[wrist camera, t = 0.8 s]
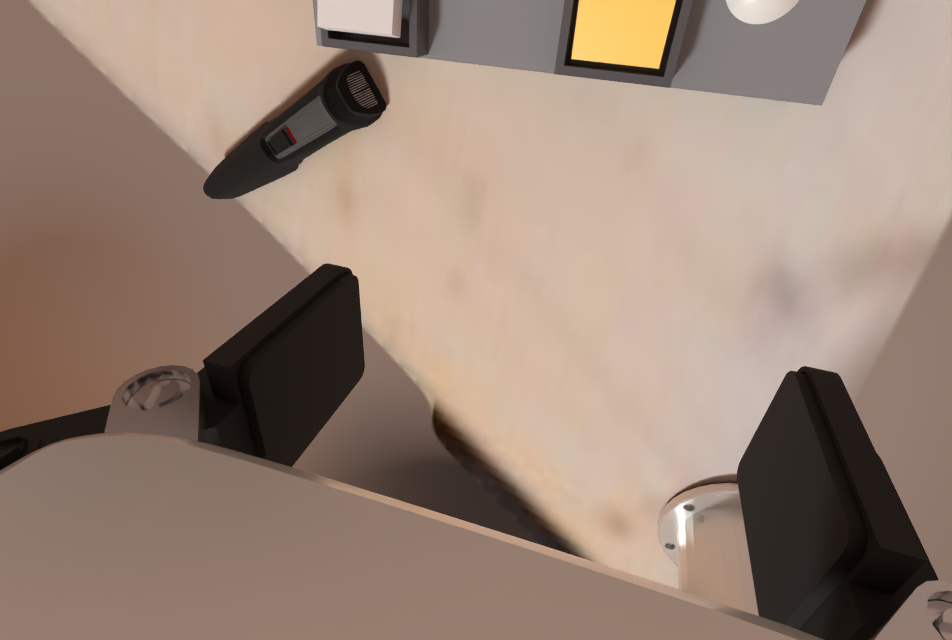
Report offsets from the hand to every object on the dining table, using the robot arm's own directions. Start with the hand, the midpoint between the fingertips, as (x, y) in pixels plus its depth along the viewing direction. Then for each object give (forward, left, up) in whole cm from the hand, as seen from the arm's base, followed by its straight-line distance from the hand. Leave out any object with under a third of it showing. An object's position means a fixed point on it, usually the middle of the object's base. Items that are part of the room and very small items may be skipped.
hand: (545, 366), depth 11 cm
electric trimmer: (-3, +21, -23) cm, 31 cm away
